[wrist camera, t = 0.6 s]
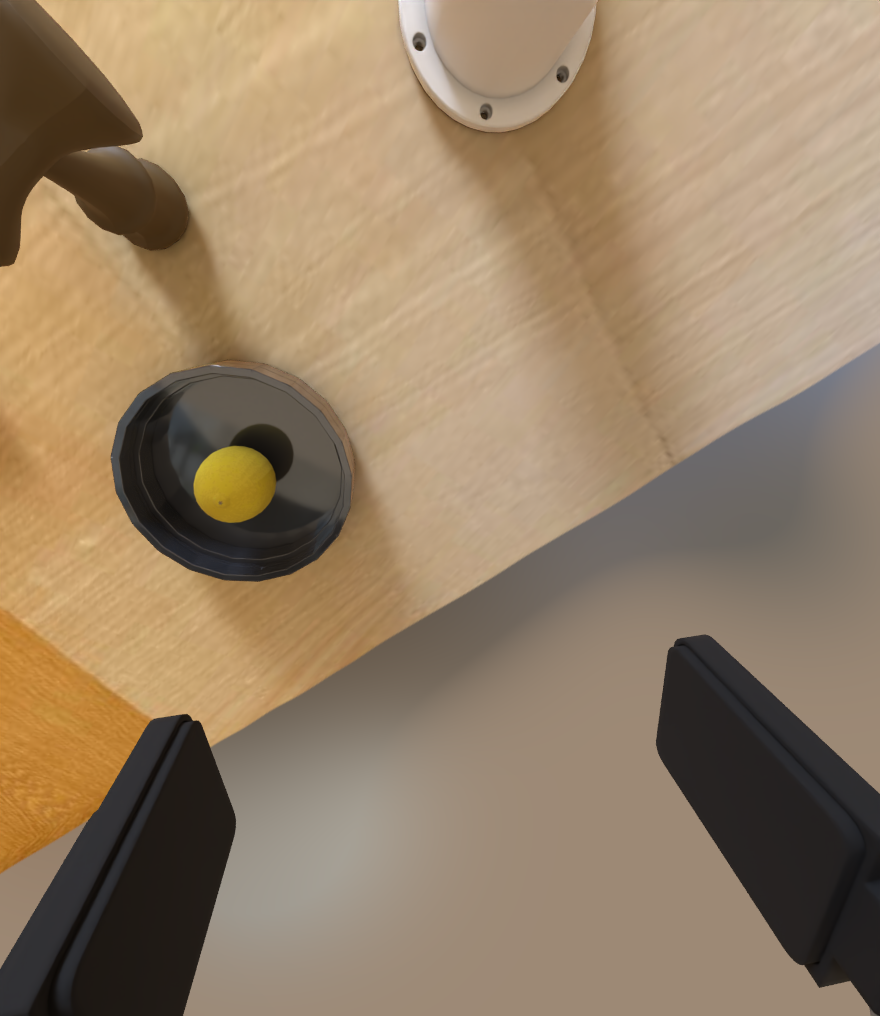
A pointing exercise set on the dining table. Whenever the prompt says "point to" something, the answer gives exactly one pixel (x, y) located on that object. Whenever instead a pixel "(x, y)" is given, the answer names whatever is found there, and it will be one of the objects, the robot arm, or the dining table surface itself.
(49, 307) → the dining table surface
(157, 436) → the pan
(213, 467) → the lemon
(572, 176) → the dining table surface
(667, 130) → the dining table surface
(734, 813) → the robot arm
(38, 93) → the kendama
